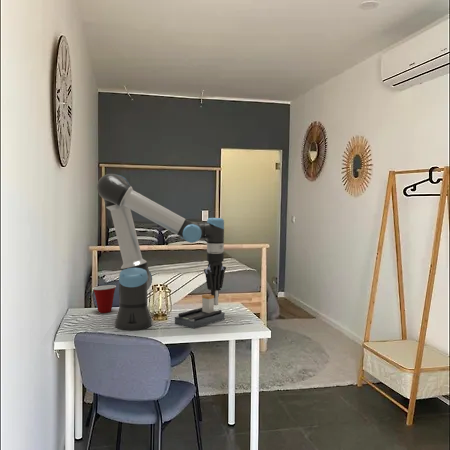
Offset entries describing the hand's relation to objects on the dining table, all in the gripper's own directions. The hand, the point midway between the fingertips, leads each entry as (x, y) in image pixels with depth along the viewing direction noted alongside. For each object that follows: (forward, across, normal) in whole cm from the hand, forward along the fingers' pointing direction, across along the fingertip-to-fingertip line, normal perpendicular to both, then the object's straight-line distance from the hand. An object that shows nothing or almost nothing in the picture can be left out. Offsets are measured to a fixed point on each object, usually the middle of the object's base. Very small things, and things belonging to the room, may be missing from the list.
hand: (214, 304), depth 222 cm
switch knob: (+2, -5, 0) cm, 5 cm away
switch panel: (+6, -10, 0) cm, 11 cm away
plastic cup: (+6, -26, +46) cm, 53 cm away
